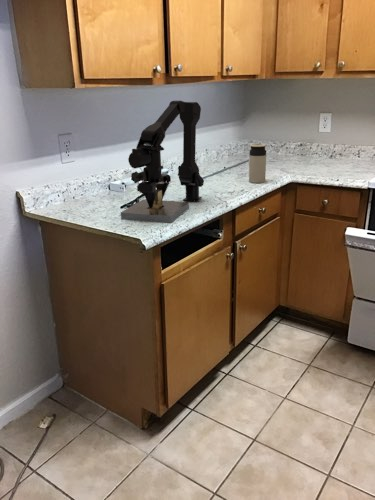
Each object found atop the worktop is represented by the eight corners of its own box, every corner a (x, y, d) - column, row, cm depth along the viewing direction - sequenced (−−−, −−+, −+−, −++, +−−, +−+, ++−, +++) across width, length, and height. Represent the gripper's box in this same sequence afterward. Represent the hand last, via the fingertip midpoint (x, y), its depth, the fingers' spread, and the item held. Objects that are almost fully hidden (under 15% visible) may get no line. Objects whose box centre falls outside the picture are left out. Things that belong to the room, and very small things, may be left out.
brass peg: (153, 211, 174) (152, 189, 170) (163, 212, 172) (161, 189, 169) (149, 214, 170) (148, 191, 167) (158, 215, 169) (157, 192, 166)
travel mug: (252, 184, 213) (252, 146, 207) (246, 180, 221) (247, 144, 214) (267, 182, 215) (268, 145, 208) (261, 179, 222) (263, 143, 216)
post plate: (143, 205, 183) (143, 199, 182) (189, 208, 177) (188, 202, 176) (121, 218, 166) (120, 212, 165) (170, 222, 159) (170, 216, 158)
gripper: (144, 159, 175) (146, 197, 181) (122, 167, 159) (125, 209, 164) (170, 159, 171) (172, 199, 177) (150, 169, 155) (153, 211, 161)
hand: (155, 204), depth 170 cm, fingers open, 9 cm apart
